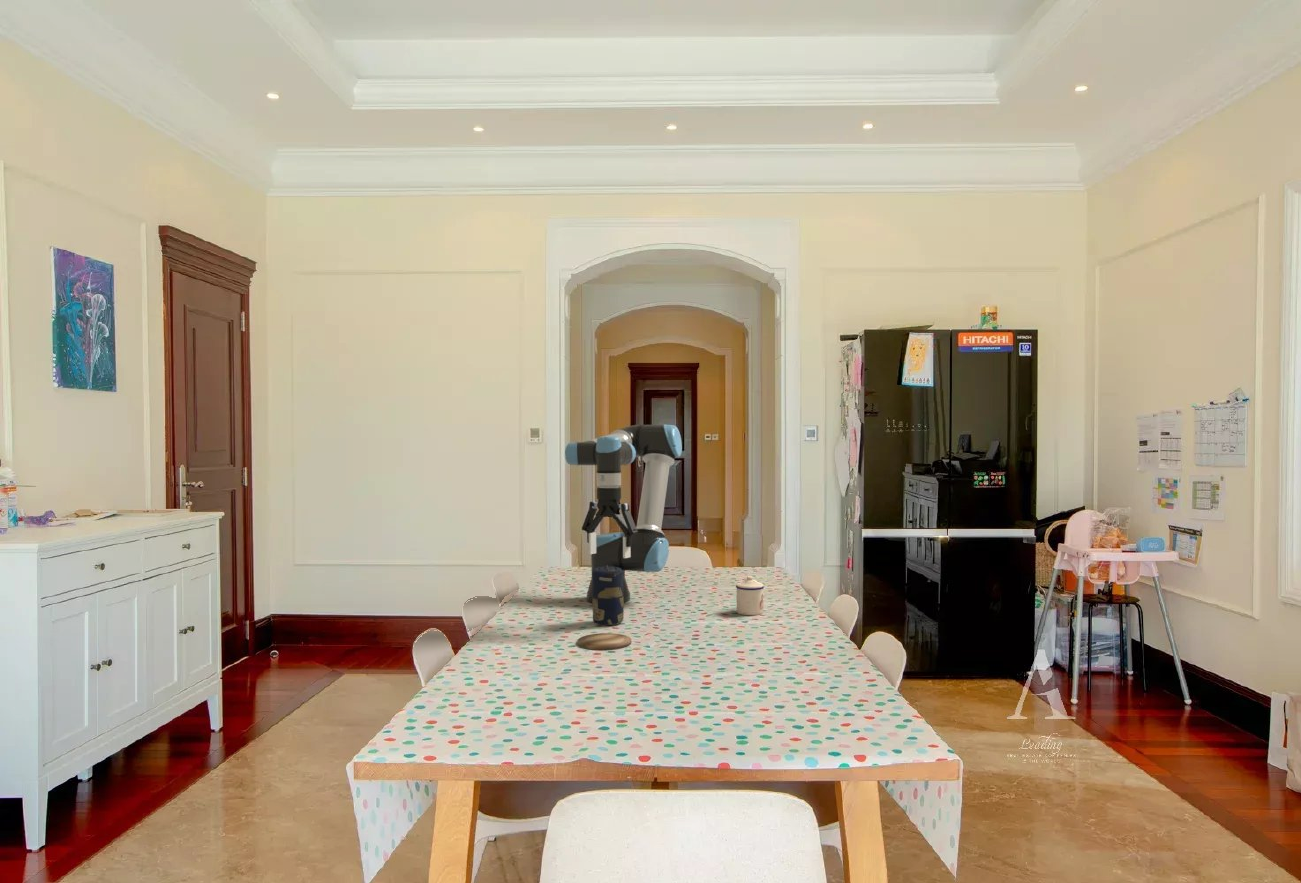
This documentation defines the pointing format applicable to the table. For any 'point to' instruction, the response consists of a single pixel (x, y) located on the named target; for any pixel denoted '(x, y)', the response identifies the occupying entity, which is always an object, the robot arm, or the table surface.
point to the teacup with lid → (749, 597)
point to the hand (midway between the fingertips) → (609, 555)
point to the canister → (607, 595)
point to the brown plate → (604, 641)
